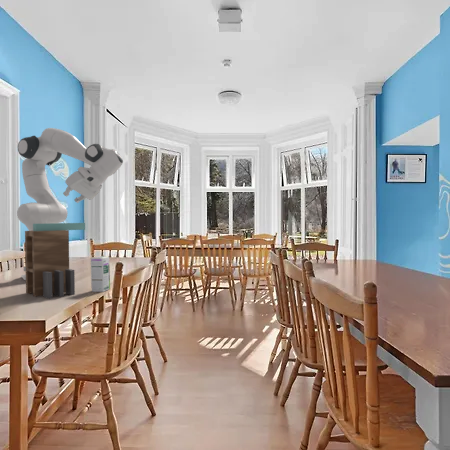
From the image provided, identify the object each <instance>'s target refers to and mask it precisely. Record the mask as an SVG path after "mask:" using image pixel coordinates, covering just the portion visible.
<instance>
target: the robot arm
mask: <svg viewBox="0 0 450 450" xmlns="http://www.w3.org/2000/svg"><path fill="white" fill-rule="evenodd" d="M79 140H80V139H78V138H77V137H76V136H74V135H73V134H72V133H70V132H68V131H65V130H62V129H60V128H56V127H55V128H54V127H47V128H45V129H44V130H43V131H42V132H41V134H40V136H39V137H38V136H36V135H32V136H31V135H30V136H27V137H26V136H25V137H23V138H22V139H20V140H19V142H18V143H17V151H18V154H19V155H20V156H21V157H23V158H24V160H23V161H22V163H21V169H22V170H21V172H22V178H23V183H24V187H25V191H26V192H25V193H26V195H28V197H30V198H31V199H33V200H34V201H36V202H31V201H30V202H25V203H22V204H20V206H18V208H17V211H16V217H17V218H18V220H19V222H21V223H22V224H23V225H24V226H25V227H26V228H27V231H33V224H44V223H65V221H66V220H67V218H68V209H67V208H66V207H67V206H65V205H63V203H61V202H59V201H58V199H57V198H56V197H55V195H54V194H53V192H52V190H51V188H50V184H49V181H48V176H47V172H46V166H49V167H50V166H52V165H53V164H54V163H57V162H59V160H60V159H61V157H62V155H64V156H67V157H70V158H73V159H76V160H79V161H81V162H83V163H85V164H87V165H89V166H90V167H84V166H79V167H78V168H77V170H75V171H74V172H73V173H72V174H70V175H69V176H68V177H66V179H65V182H64V183H65V184H66V185H67V187H66V189H65V191H63V193H62V194H63V195H64V196H65V197H68V196H70V192H72V191H75V192H76V193H77V194H80V196H78V197H75V198H74V202H75V203H77V204H78V203H80V202H81V201H83V200H85V199H88V200H93V199H94V198H95V197H96V196H97V195H98V194H99V193H100V192H101V190H102V187H103V183H105V182H106V181H107V179H108V178H109V177H110V176H112V175H114V174H115V173H117V171H119V169H120V168H121V166H122V165H123V163H124V161H123V158H122V156H121V155H120V153H119V152H118V151H117V150H116V149H112V148H110V149H109V148H107V147H104V146H102V145H101V144H99V143H92V144H90V145H89V146H88V147H86V146H84V144H83V143H82V142H81V141H79ZM23 272H26V266H24V267H23ZM20 278H22V279H23V280H24V281H26V273H25V274H21V275H20Z"/></svg>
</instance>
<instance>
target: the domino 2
mask: <svg viewBox="0 0 450 450" xmlns="http://www.w3.org/2000/svg"><path fill="white" fill-rule="evenodd" d="M54 285H55V294H54V296H56V297H64V296H65V292H64V274H63V271H60V270H54Z"/></svg>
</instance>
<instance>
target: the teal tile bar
mask: <svg viewBox="0 0 450 450" xmlns="http://www.w3.org/2000/svg"><path fill="white" fill-rule="evenodd" d="M56 230H69V231H79V230H80V231H82V230H83V231H84V230H85V231H86V222H61V223H44V224H33V231H56Z"/></svg>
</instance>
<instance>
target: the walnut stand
mask: <svg viewBox="0 0 450 450" xmlns="http://www.w3.org/2000/svg"><path fill="white" fill-rule="evenodd" d="M69 232H70V230H56V231H29V230H25V231H24V253H25V259H24V260H25V267H26V271H25V274H26V280H25V294H27V295H28V294H32V296H33V297H41V296H42V297H43V272H44V271H48V272H52V295H55V285H54V270H60V271H63V274H64V293H66V285H65V269H70V237H69V236H70V233H69Z"/></svg>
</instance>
